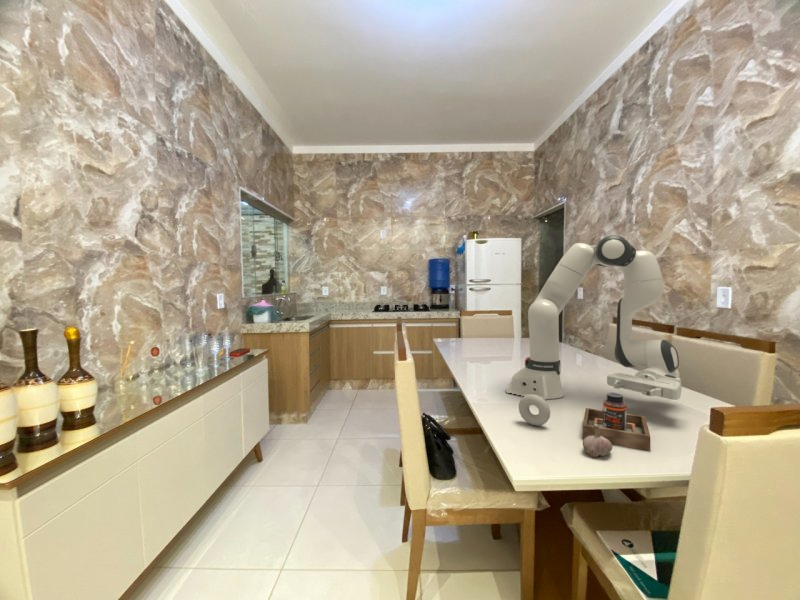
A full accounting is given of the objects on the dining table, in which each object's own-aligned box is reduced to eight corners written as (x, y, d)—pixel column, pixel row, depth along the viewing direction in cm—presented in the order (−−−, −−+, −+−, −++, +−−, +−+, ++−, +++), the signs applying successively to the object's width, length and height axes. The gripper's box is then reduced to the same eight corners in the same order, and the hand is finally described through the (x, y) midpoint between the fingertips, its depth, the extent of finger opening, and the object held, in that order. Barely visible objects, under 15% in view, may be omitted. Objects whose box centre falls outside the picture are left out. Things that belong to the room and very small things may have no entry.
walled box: (582, 438, 101) (582, 425, 101) (585, 419, 114) (585, 407, 114) (650, 451, 92) (650, 436, 92) (644, 429, 106) (644, 416, 106)
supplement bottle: (603, 434, 102) (603, 396, 102) (602, 426, 107) (602, 390, 107) (627, 437, 99) (627, 398, 99) (625, 429, 105) (625, 392, 104)
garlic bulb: (590, 460, 89) (590, 430, 88) (575, 447, 96) (575, 419, 96) (620, 460, 89) (620, 429, 88) (603, 446, 96) (603, 418, 96)
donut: (516, 423, 113) (516, 392, 113) (521, 419, 116) (520, 390, 116) (548, 431, 107) (547, 399, 106) (552, 427, 109) (551, 396, 109)
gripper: (617, 367, 127) (598, 373, 119) (687, 379, 110) (670, 387, 102) (616, 384, 127) (597, 391, 119) (686, 399, 110) (669, 408, 103)
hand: (631, 389), depth 111 cm, fingers open, 8 cm apart
